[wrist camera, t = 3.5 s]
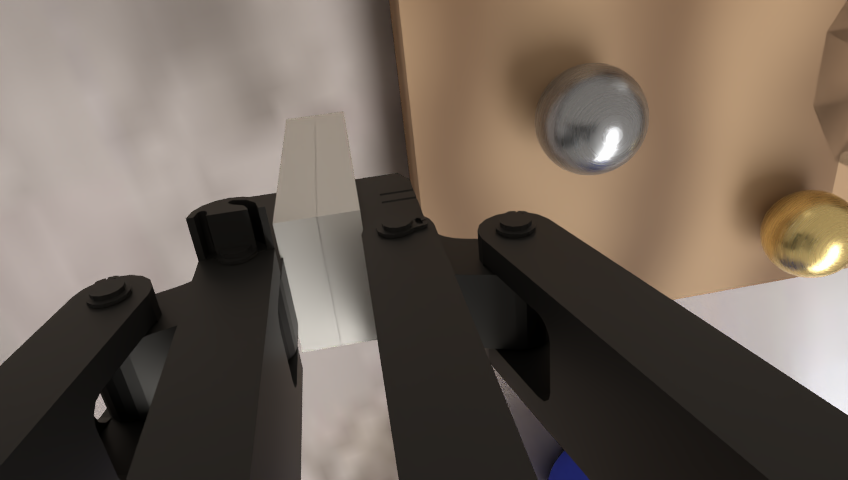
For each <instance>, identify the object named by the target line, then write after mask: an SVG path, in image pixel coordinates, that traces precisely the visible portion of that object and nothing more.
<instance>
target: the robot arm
mask: <svg viewBox="0 0 848 480" xmlns="http://www.w3.org/2000/svg"><path fill="white" fill-rule="evenodd" d="M186 221H187V224H188V227H189V231H190V234H191V237H192V241H193V244H194V247H195V251H196V254H197V257H198V261H199V262H198V265H197V268H196V271H195V274H194V277H193V280H192V281H191V282H189V283H186V284H184V285H181V286H178V287H176V288H173V289H169V290H166V291H163V292H160V293H157V294H155V292H154V289H153V286H152V283H151V281H150V279H148V278H146V277H143V276H136V275H127V276H120V277H119V276H113V277H109V278H108V279H107V280H106V278H105V279H102V280H99V281H97V282H95V284H93V285H91V286H89V287H87V288H85V289H83V290H82V291H80V292H79V293H78V294H76V295H75V296H73V297H72V298H71V299H70V300H69V301H68V302H67V303H66V304H65V305H64V306H63V307H62V308H61V309H59V310H58V311H57V312H56V313H55V314H54V315H53V316H52V317H51V318H50V319H49V320H48V321H47V322H46V323H45V324H44V325H43V326H42V327H41V328H40V329H38V330H37V331H36V332H35V333H34V334H33V335H32V336H31V337H30V338H29V339H28V340H27V341H26V342H25V343H24V344H23V345H22V346H21V347H20V348H19V349H17V350H16V351H15V352H14V353H13V354H12V355H11V356H10V357H9V358H8V359H7V360H6V361H5V362H4V363H3V364H2V365H1V366H0V480H301V438H302V378H303V367H302V363H301V359H300V355H299V350H298V336H299V340H300V345H301V349H302V353H303V352H308V351H314V350H320V349H325V348H331V347H337V346H343V345H348V344H354V343H360V342H366V341H371V340H378V346H379V353H380V359H381V366H382V372H383V379H384V385H385V392H386V398H387V405H388V411H389V418H390V424H391V431H392V438H393V444H394V451H395V457H396V464H397V470H398V477H399V480H538V479H537V477H536V474H535V472H534V469H533V467H532V464H531V462H530V460H529V457H528V455H527V452H526V450H525V447H524V445H523V442H522V440H521V437H520V435H519V432H518V430H517V427H516V425H515V422H514V420H513V417H512V415H511V413H510V410H509V408H508V405H507V403H506V400H505V398H504V395H503V393H502V390H501V388H500V385H499V383H498V380H497V378H496V375H495V373H494V370H493V368H492V366H493V367H494V368H495V370H496V371H497V372H498V373H499V374H500V375H501V377H502V378H503V379H504V380H505V381H506V382H507V384H508V385H509V386H510V387H511V388H512V389H513V391H514V392H515V393H516V394H517V395H518V396H519V398H520V399H521V400H522V401H523V402H524V403H525V405H526V406H527V407H528V408H529V409H530V411H531V412H532V413H533V414H534V415H535V416H536V418H537V419H538V420H539V421H540V422H541V423H542V425H543V426H544V427H545V428H546V429H547V430H548V432H549V433H550V434H551V435H552V436H553V437H554V439H555V440H556V441H557V442H558V443H559V445H560V446H561V447H562V448H563V449H564V450H565V452H566V453H567V454H568V455H569V456H570V457H571V459H572V460H573V461H574V462H575V463H576V464H577V466H578V467H579V468H580V469H581V470H582V471H583V473H584V474H585V475H586V476H587V477H588V479H589V480H848V415H847V414H845V413H844V412H842V411H841V410H839V409H838V408H836V407H834V406H833V405H831V404H830V403H828V402H827V401H825V400H824V399H822V398H821V397H819V396H818V395H816V394H815V393H813V392H812V391H810V390H809V389H807V388H806V387H804V386H803V385H801V384H799V383H798V382H796V381H795V380H793V379H792V378H790V377H789V376H787V375H786V374H784V373H783V372H781V371H780V370H778V369H777V368H775V367H774V366H772V365H771V364H769V363H768V362H766V361H764V360H763V359H761V358H760V357H758V356H757V355H755V354H754V353H752V352H751V351H749V350H748V349H746V348H745V347H743V346H742V345H740V344H739V343H737V342H736V341H734V340H733V339H731V338H729V337H728V336H726V335H725V334H723V333H722V332H720V331H719V330H717V329H716V328H714V327H713V326H711V325H710V324H708V323H707V322H705V321H704V320H702V319H701V318H699V317H698V316H696V315H694V314H693V313H691V312H690V311H688V310H687V309H685V308H684V307H682V306H681V305H679V304H678V303H676V302H675V301H673V300H672V299H670V298H669V297H667V296H666V295H664V294H663V293H661V292H659V291H658V290H656V289H655V288H653V287H652V286H650V285H649V284H647V283H646V282H644V281H643V280H641V279H640V278H638V277H637V276H635V275H634V274H632V273H631V272H629V271H628V270H626V269H624V268H623V267H621V266H620V265H618V264H617V263H615V262H614V261H612V260H611V259H609V258H608V257H606V256H605V255H603V254H602V253H600V252H599V251H597V250H596V249H594V248H593V247H591V246H589V245H588V244H586V243H585V242H583V241H582V240H580V239H579V238H577V237H576V236H574V235H573V234H571V233H570V232H568V231H567V230H565V229H564V228H562V227H561V226H559V225H558V224H556V223H554V222H553V221H551V220H550V219H548V218H546V217H544V216H541V215H539V214H534V213H528V212H526V211H517V212H516V211H508V212H506V213H503V214H497V215H495V216H492V217H490V218H487V219H486V220H484V221H483V222H482V223H481V224H480V225H479V227H478V231H477V233H478V239H463V238H451V237H446V236H442V235H440V234H438V232H437V230H436V227H435V225H434V223H433V222H432V221H431V220H430V219H429V218H427V217H424V215H423V213H422V210H421V208H420V205H419V202H418V200H417V198H416V195H415V192H414V190H413V187H412V184H411V182H410V180H409V179H407V178H406V177H404V176H402V175H400V174H398V173H395V174H388V175H382V176H375V177H368V178H362V179H355V178H354V172H353V166H352V160H351V154H350V148H349V142H348V136H347V130H346V124H345V119H344V113H343V112H337V113H330V114H323V115H315V116H308V117H301V118H294V119H287V120H286V127H285V134H284V142H283V149H282V156H281V164H280V171H279V179H278V186H277V193H273V194H266V195H260V196H253V197H235V198H227V199H223V200H218V201H214V202H212V203H209V204H206V205H203V206H201V207H199V208H198V209H196V210H194V211H193V212H191V213H190V215H189V216H188V217H187V218H186ZM491 365H492V366H491ZM100 393H101V396H102V398H103V400H104V403H105V405H106V407H107V409H106V410H105V412H104V413H103V414H102V416H101V417H100V418H99V419H98V420H97V419H96V418H95V417H94V409H95V402H96V400H97V398H98V396H99V394H100Z"/></svg>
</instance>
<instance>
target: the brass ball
mask: <svg viewBox="0 0 848 480" xmlns="http://www.w3.org/2000/svg"><path fill="white" fill-rule="evenodd" d="M760 240H761V245H762V248H763V250H764V252H765V254H766V255H767V257H768V258H769V259H770V261H771V262H772V263H773V264H774V265H776V266H777V267H778V268H780V269H781V270H783V271H785V272H787V273H789V274H792V275H795V276H799V277H805V278H816V277H824V276H828V275H831V274H833V273H836V272H838V271H840V270H841V269H843V268H844V267H846V266H847V265H848V202H846V201H845V200H844V199H842V198H841V197H839V196H837V195H835V194H832V193H829V192H825V191H820V190H803V191H798V192H794V193H791V194H789V195H786V196H784V197H783V198H781V199H780V200H778V201H777V202H775V203H774V204H773V205H772V206H771V207H770V208H769V210H768V211H767V213H766V214H765V216H764V218H763V221H762V223H761V228H760Z"/></svg>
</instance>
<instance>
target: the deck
mask: <svg viewBox="0 0 848 480" xmlns="http://www.w3.org/2000/svg"><path fill="white" fill-rule="evenodd" d="M389 4H390V13H391V22H392V30H393V39H394V47H395V56H396V65H397V73H398V82H399V90H400V99H401V108H402V116H403V125H404V133H405V142H406V151H407V159H408V168H409V176H410V182H411V184H412V187H413V190H414V192H415V195H416V198H417V200H418V202H419V205H420V208H421V210H422V213H423V215H424V217H427V218H429V219H430V220H431V221H432V222H433V223H434V225H435V227H436V230H437V232H438V234H440V235H442V236H446V237H451V238H463V239H478V233H477V231H478V227H479V225H480V224H481V223H482V222H483V221H484V220H486V219H487V218H490V217H492V216H495V215H497V214H503V213H506V212H508V211H516V212H517V211H526V212H528V213H534V214H539V215H541V216H544V217H546V218H548V219H550V220H551V221H553V222H554V223H556V224H558V225H559V226H561V227H562V228H564V229H565V230H567V231H568V232H570V233H571V234H573V235H574V236H576V237H577V238H579V239H580V240H582V241H583V242H585V243H586V244H588V245H589V246H591V247H593V248H594V249H596V250H597V251H599V252H600V253H602V254H603V255H605V256H606V257H608V258H609V259H611V260H612V261H614V262H615V263H617V264H618V265H620V266H621V267H623V268H624V269H626V270H628V271H629V272H631V273H632V274H634V275H635V276H637V277H638V278H640V279H641V280H643V281H644V282H646V283H647V284H649V285H650V286H652V287H653V288H655V289H656V290H658V291H659V292H661V293H663V294H664V295H666V296H667V297H669V298H670V299H672V300H675V299H680V298H686V297H691V296H697V295H702V294H707V293H713V292H718V291H724V290H729V289H735V288H740V287H746V286H751V285H757V284H762V283H768V282H773V281H779V280H784V279H790V278H795V277H799V276H795V275H792V274H789V273H787V272H785V271H783V270H781V269H780V268H778V267H777V266H776V265H774V264H773V263H772V262H771V261H770V259H769V258H768V257H767V255H766V254H765V252H764V250H763V248H762V245H761V240H760V228H761V223H762V221H763V218H764V216H765V214H766V213H767V211H768V210H769V208H770V207H771V206H772V205H773V204H774V203H775V202H777V201H778V200H780V199H781V198H783V197H784V196H786V195H789V194H791V193H794V192H798V191H803V190H820V191H825V192H829V193H832V194H835V195H837V196H839V197H841V198H842V199H844V200H845V201H846V202H848V0H389ZM585 63H604V64H609V65H612V66H615V67H618V68H620V69H621V70H623V71H625V72H626V73H628V74H629V75H630V76H632V77H633V78H634V80H635V81H636V82H637V83H638V84H639V85H640V87H641V89H642V90H643V92H644V95H645V97H646V99H647V103H648V108H649V125H648V130H647V134H646V136H645V139H644V141H643V143H642V145H641V147H640V148H639V150H638V151H637V152H636V153H635V155H634V156H633V157H632V158H631V159H630V160H629V161H627V162H626V163H625V164H624V165H622V166H621V167H619V168H617V169H615V170H613V171H610V172H607V173H604V174H599V175H579V174H575V173H572V172H569V171H566V170H564V169H562V168H560V167H559V166H558V165H556V164H555V163H553V162H552V161H551V160H550V159H549V158H548V157H547V155H546V154H545V153H544V151H543V150H542V148H541V146H540V144H539V141H538V139H537V136H536V131H535V113H536V108H537V104H538V101H539V99H540V97H541V95H542V93H543V91H544V90H545V88H546V87H547V86H548V84H549V83H550V82H551V81H552V80H553V79H554V78H555V77H557V76H558V75H559V74H561V73H562V72H564V71H565V70H567V69H569V68H571V67H574V66H577V65H580V64H585ZM844 268H848V265H847V266H846V267H844ZM844 268H843V269H844Z"/></svg>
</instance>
